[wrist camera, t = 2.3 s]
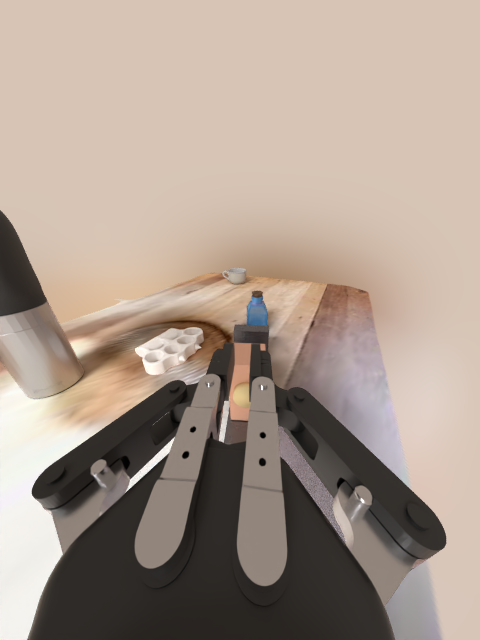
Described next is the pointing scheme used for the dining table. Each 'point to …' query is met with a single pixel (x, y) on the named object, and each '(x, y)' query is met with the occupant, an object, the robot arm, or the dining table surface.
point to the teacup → (236, 275)
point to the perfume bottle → (257, 310)
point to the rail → (260, 335)
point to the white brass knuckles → (169, 349)
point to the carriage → (241, 382)
